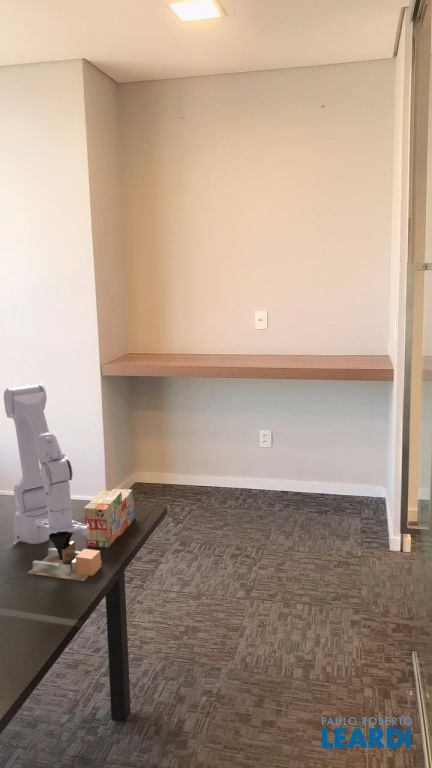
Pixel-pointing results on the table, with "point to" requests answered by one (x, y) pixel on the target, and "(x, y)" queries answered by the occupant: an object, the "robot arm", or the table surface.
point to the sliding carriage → (69, 555)
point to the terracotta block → (88, 562)
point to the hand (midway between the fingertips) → (63, 558)
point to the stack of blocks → (108, 516)
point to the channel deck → (55, 567)
